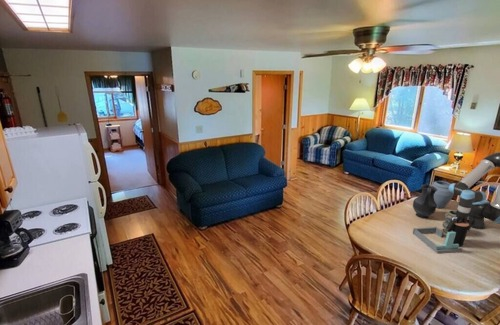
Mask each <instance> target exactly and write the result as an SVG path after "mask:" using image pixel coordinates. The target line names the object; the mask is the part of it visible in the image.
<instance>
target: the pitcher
mask: <svg viewBox="0 0 500 325" xmlns="http://www.w3.org/2000/svg"><path fill="white" fill-rule="evenodd" d="M431 185H432V184H421V186H420V187H421V189H422V190H421V193H420V194H419V195H418V196H417V197H416V198H414V200H413V201H412V202H413V203H412V208H413V210H414V212H415V216H416V217H417V218H419V219H425V220H426V219H429V216H431V215H433V214H434V213H435V211H437V208H436V207H437V204H436V203H435V201H434V193H435V192H436V191H437V190H438V189H437V188H436V187H435V186H431Z"/></svg>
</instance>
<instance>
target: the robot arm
mask: <svg viewBox="0 0 500 325" xmlns="http://www.w3.org/2000/svg"><path fill="white" fill-rule="evenodd" d="M495 168H500V151H499V152H495V153H491V154H488V155H487V156H485V157H484V158H482V159H481V160H480V162H479V164H477V166H475V167H474V168H473V169H472V170H471V171H470V172H468V174H466V175H465V176H464V177H463V178H462V179H461V180H460V181H459V182H457V183H456V182H453V183H450V186H449V191H450V192H452V193H454V195H457V196H460V197H459V201H458V205H457V208H456V210H455V211H456V217H455V218H453V217H452V218H451V220H450V222H449V224H448V225H447V227H446V229H448V232H453V231H452V230H453V229H454V226H455V225H454V226H453V224H454V223H455V222H456V221H457V222H456V223H463V222H464V223H467V222H468V223H469V226H468V231H470V230H471V229H475V230H476V229H477V230H482V229H485V225H486V224H485V219H486V220H488V221H491V222H493V223H495V224H499V225H500V184H499V185H498V188H497V191H496V194H495V197H494V200H493V202H490V201H489V200H487V195H486V193H485V192H484V191H482V190H474V189H471V187H472V186H474V184H476V182H478V181H479V180H480V179H481V178H483V177H484V176H485V175H486V174H488V172H490V171H491V170H494V169H495ZM466 221H467V222H466Z"/></svg>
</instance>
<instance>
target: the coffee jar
mask: <svg viewBox="0 0 500 325" xmlns="http://www.w3.org/2000/svg"><path fill="white" fill-rule="evenodd" d="M456 222H457V221H456ZM456 222H455V223H454V224H453V226H454V225H455V226H454V229H453V230H452V231H453V232H455V233H456V235H455V238H454V242H453V244H459V246H458V248H461V247H462V246H463V245H464V244H465V240H466V236H467V233H468V231H469V230H468V226H469V223H468V222H467V221H466V222H467V223H464V222H463V223H456Z"/></svg>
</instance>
